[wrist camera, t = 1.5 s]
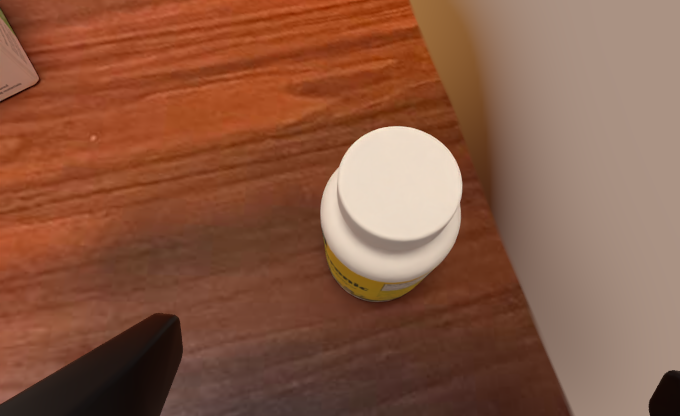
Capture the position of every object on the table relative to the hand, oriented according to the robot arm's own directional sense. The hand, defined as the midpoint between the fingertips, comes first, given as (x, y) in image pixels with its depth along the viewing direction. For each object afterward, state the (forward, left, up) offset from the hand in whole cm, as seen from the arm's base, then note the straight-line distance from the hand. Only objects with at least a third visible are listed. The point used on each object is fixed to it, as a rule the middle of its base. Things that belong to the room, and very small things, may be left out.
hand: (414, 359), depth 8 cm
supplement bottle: (+5, -2, -14) cm, 15 cm away
